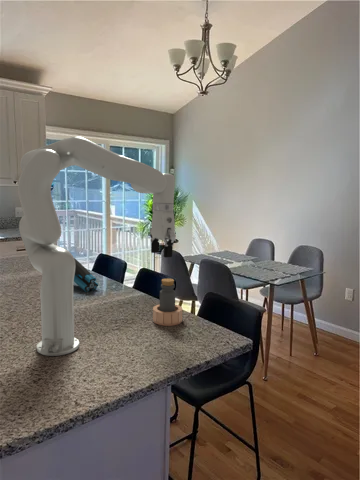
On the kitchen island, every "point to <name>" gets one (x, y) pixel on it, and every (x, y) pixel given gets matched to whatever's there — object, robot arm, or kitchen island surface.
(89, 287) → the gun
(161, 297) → the bottle
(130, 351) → the kitchen island surface
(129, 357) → the kitchen island surface
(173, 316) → the segmented wooden bowl
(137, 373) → the kitchen island surface
